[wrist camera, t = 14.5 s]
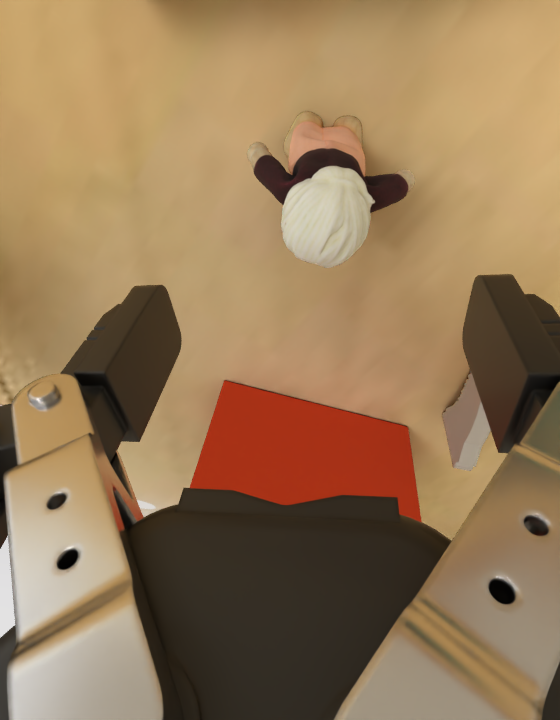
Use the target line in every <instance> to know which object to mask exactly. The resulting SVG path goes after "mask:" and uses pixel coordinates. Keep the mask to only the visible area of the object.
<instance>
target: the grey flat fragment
mask: <svg viewBox="0 0 560 720" xmlns="http://www.w3.org/2000/svg"><path fill="white" fill-rule="evenodd" d="M470 373H471V370H470ZM468 378H469V379H468V380H467V379H466V383H464V385H465V387H463V390H462V391H461V393H462V394H460V397H458V400H456V402H455V403H454V405H452V406H450V407H448V408H446V411H445V412H443V414H442V416H443V421H444V426H445V431H446V435H447V440H448V445H449V450H450V454H451V459H452V464H453V468H457V469H462V470H467V471H471V470H472V469H473V466H474V467H476V464H477V461H478V457H479V454H480V451H481V448H482V445H483V444H484V442H485V441H486V439H487V437H488V435H489V433H490V431H491V429H490V426H489V423H488V420H487V417H486V414H485V411H484V408H483V406H482V403H481V400H480V397H479V394H478V391H477V388H476V385H475V382H474V379H473V376H472V373H471V374H469V375H468Z"/></svg>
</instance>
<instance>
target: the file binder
mask: <svg viewBox="0 0 560 720" xmlns="http://www.w3.org/2000/svg"><path fill="white" fill-rule="evenodd" d="M190 488H198V489H221V490H235V491H238V492H241V493H245V494H248V495H251V496H255V497H258V498H261V499H264V500H268V501H271V502H274V503H278V504H281V505H292V504H297V503H302V502H307V501H312V500H317V499H323V498H328V497H333V496H338V495H359V496H382V497H398V506H399V514H400V515H404V516H407V517H410V518H412V519H415V520H417V521H419V522H421V516H420V509H419V501H418V494H417V487H416V480H415V473H414V466H413V459H412V452H411V445H410V438H409V431H408V428H407V427H406V426H402V425H399V424H395V423H391V422H387V421H383V420H379V419H375V418H371V417H367V416H363V415H359V414H355V413H351V412H347V411H343V410H339V409H335V408H331V407H327V406H324V405H320V404H316V403H312V402H308V401H304V400H300V399H296V398H292V397H288V396H284V395H280V394H276V393H272V392H268V391H264V390H260V389H256V388H252V387H249V386H245V385H241V384H237V383H233V382H229V381H224V383H223V386H222V389H221V392H220V396H219V399H218V402H217V405H216V408H215V411H214V414H213V417H212V420H211V423H210V426H209V430H208V433H207V436H206V439H205V442H204V445H203V448H202V451H201V454H200V457H199V461H198V464H197V467H196V470H195V473H194V476H193V479H192V482H191V485H190Z"/></svg>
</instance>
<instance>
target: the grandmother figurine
mask: <svg viewBox="0 0 560 720" xmlns="http://www.w3.org/2000/svg"><path fill="white" fill-rule="evenodd" d="M284 152H285V154H286V156H287V157H288V159H289V171H290V173H291V174H289V173H287V172H286V170H285V169H284V167H283V166H282V165H281V163H280V162H279V161H278V160H276V159H275V158H274V157H273V156H272V154H271V153H270V152H269V150H268V148H267V147H266V146H265V145H264V144H263V143H260V142H256V143H253V144H252V145H251V146H250V147H249V149H248V152H247V157H248V160H249V162H250V163H251V164H252V167H253V169H254V174H255V176H256V178H257V179H258V180H259V181H260V182H261V183H262V184H263V185H264V186H265V187H266V188H267V189H268V190H269V191H270V192H271V193H272V194H273V195H274V196H275V198H276V199H277V200H278V201H279V202H280V203H281V204H282V205H283V208H282V220H281V229H282V232H283V240H284V242H285V244H286V246H287V248H288V249H289V250H290V251H291V252H293V253H294V254H295V256H296V257H297V258H298V259H300V260H303V261H305V262H308V263H313V264H317V265H319V266H323V267H325V268H331V267H334V266H337V265H340V264H342V263H343V262H345V261H346V260H348V259H349V258H350V257H351V256H352V255H353V254H354V253H355V251H357V250H358V249H359V248H360V247H361V246H362V244H363V242H364V241H365V239H366V237H367V234H368V230H369V226H370V220H371V215H370V213H371V212H374V211H377V210H380V209H382V208H384V207H387V206H389V205H391V204H394V203H396V202H398V201H400V200H401V199H403V198H404V197H405V196H406V194H407V192H409V191H410V190H411V189H412V188H413V186H414V184H415V177H414V175H413V173H412V172H411V171H409V170H406V169H402V170H399V171H397V172H396V173H394V174H385V175H378V176H365V155H364V152H363V150H362V126H361V123H360V121H359V120H358V119H357V118H356V117H353V116H342V117H340V118H338V119H337V120H336V121H335V123H334V125H333V127H324V128H323V124H322V120H321V119H320V117H319V116H318V115H316V114H314V113H312V112H308V111H305V112H302V113H300V114H299V115H298V116H297V118H296V119H295V121H294V123H293V125H292V127H291V128H290V130H289V132H288V134H287V136H286V138H285V141H284Z"/></svg>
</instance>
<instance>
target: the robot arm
mask: <svg viewBox="0 0 560 720" xmlns="http://www.w3.org/2000/svg"><path fill="white" fill-rule="evenodd" d="M180 349H181V332H180V328H179V325H178V322H177V319H176V316H175V313H174V310H173V307H172V303H171V300H170V297H169V294H168V291H167V289H166V288H165V287H164V286H163V285H146V286H135V287H133V288H132V290H131V291H130V293H129V294H128V295H127V297H126V298H125V300H124V301H123V303H122V304H118V305H116V306H115V307H114V308H112V309H111V310H110V311H108V312H107V313H106V314H104V315H103V316H102V318H101V319H100V320H99V322H98V323H97V324H96V326H95V327H94V330H92V331H91V333H90V334H89V335H88V337H87V340H85V341H84V342H83V343H82V345H81V346H80V347H79V349H78V350H77V352H76V353H75V354H74V356H73V357H72V358H71V360H70V361H69V362H68V364H67V365H66V367H65V368H64V369H63V371H62V372H61V373H60V374H52V375H48V376H45V377H42V378H39V379H37V380H35V381H33V382H32V383H30V384H28V385H27V386H25V387H24V388H23V389H22V390H21V391H20V392H19V393H18V394H17V395H16V396H15V398H14V399H13V401H12V404H8V405H3V406H0V548H1V547H2V545H3V543H4V541H5V540H6V538H7V536H8V541H9V553H10V565H11V576H12V589H13V600H14V613H15V626H13V627H12V628H11V629H10V630H9V631H8V632H7V633H5V634H4V635H3V636H2V637H1V638H0V720H560V317H559V316H558V314H557V313H556V311H555V310H554V308H553V307H552V306H551V305H550V304H548V303H547V302H545V301H544V300H542V299H541V298H539V297H538V296H536V295H535V294H524V293H523V291H522V289H521V288H520V286H519V284H518V283H517V281H516V279H515V278H514V276H513V275H511V274H503V275H478V276H477V277H476V278H475V280H474V283H473V287H472V291H471V296H470V300H469V305H468V309H467V313H466V318H465V322H464V327H463V349H464V352H465V355H466V358H467V361H468V364H469V367H470V370H471V373H472V376H473V379H474V382H475V385H476V388H477V391H478V394H479V397H480V400H481V403H482V406H483V408H484V411H485V414H486V417H487V420H488V423H489V426H490V429H491V432H492V435H493V438H494V441H495V444H496V447H497V450H498V453H508V455H507V456H506V458H505V459H504V461H503V462H502V464H501V466H500V467H499V469H498V470H497V472H496V473H495V475H494V476H493V478H492V479H491V481H490V483H489V484H488V486H487V487H486V489H485V490H484V492H483V493H482V495H481V496H480V498H479V500H478V501H477V503H476V504H475V506H474V507H473V509H472V510H471V512H470V513H469V515H468V517H467V518H466V520H465V521H464V523H463V524H462V526H461V527H460V529H459V530H458V532H457V534H456V535H455V537H454V538H453V540H452V541H451V540H450V539H448V538H447V537H445V536H444V535H442V534H441V533H440V532H438V531H437V530H435V529H433V528H431V527H429V526H428V525H426V524H424V523H422V522H419V521H417V520H415V519H412V518H410V517H407V516H404V515H400V514H399V506H398V497H382V496H359V495H338V496H333V497H328V498H323V499H317V500H312V501H307V502H302V503H297V504H292V505H281V504H278V503H274V502H271V501H268V500H264V499H261V498H258V497H255V496H251V495H248V494H245V493H241V492H238V491H235V490H221V489H198V488H184V489H183V492H182V495H181V498H180V501H179V504H178V505H173V506H170V507H167V508H164V509H161V510H159V511H156V512H154V513H152V514H150V515H148V516H146V517H143V515H142V513H141V510H140V508H139V505H138V503H137V500H136V497H135V494H134V492H133V489H132V486H131V484H130V481H129V478H128V475H127V473H126V470H125V467H124V465H123V462H122V459H121V457H120V455H119V453H118V451H117V449H118V447H119V445H120V443H121V441H129V442H140V440H141V437H142V435H143V433H144V431H145V428H146V426H147V424H148V422H149V420H150V417H151V415H152V413H153V411H154V408H155V406H156V404H157V402H158V400H159V397H160V395H161V393H162V391H163V388H164V386H165V384H166V382H167V379H168V377H169V375H170V373H171V371H172V368H173V366H174V364H175V362H176V359H177V357H178V355H179V353H180Z"/></svg>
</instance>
